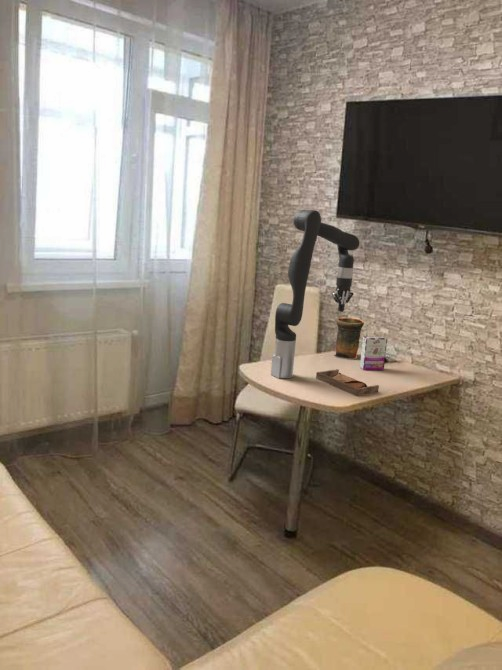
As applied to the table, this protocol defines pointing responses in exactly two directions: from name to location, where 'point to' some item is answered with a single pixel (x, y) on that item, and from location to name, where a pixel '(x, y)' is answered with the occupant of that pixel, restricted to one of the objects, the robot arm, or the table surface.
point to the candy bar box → (373, 352)
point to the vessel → (348, 337)
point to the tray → (326, 378)
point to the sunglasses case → (350, 381)
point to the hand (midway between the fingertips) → (340, 311)
